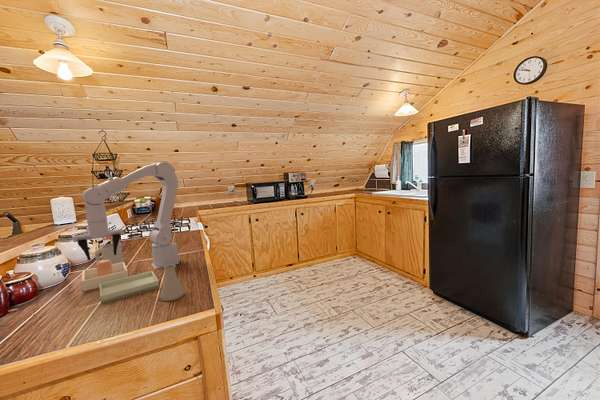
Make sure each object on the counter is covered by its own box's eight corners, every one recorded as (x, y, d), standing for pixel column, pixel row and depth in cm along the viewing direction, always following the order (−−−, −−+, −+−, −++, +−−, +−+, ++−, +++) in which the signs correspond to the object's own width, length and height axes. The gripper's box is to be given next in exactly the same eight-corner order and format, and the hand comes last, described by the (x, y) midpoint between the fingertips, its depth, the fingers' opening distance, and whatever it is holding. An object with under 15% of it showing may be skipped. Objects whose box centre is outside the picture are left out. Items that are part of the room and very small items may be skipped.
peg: (112, 276, 99) (110, 258, 99) (113, 279, 96) (111, 261, 95) (98, 279, 97) (96, 261, 96) (98, 283, 93) (96, 264, 92)
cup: (119, 266, 111) (117, 246, 110) (92, 270, 108) (89, 249, 107) (125, 261, 118) (123, 242, 117) (100, 264, 115) (97, 245, 114)
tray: (152, 277, 98) (152, 270, 98) (159, 287, 89) (158, 280, 89) (100, 290, 88) (99, 283, 88) (101, 304, 79) (100, 296, 79)
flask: (190, 292, 85) (187, 263, 83) (172, 303, 78) (169, 271, 77) (172, 289, 87) (169, 261, 86) (154, 300, 80) (151, 269, 79)
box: (125, 271, 105) (124, 261, 105) (128, 281, 95) (127, 270, 95) (84, 280, 97) (82, 270, 97) (83, 292, 87) (81, 281, 87)
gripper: (120, 216, 101) (124, 249, 103) (71, 222, 92) (77, 259, 94) (122, 218, 96) (126, 254, 98) (70, 225, 87) (76, 264, 88)
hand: (102, 256), depth 95 cm, fingers open, 7 cm apart
